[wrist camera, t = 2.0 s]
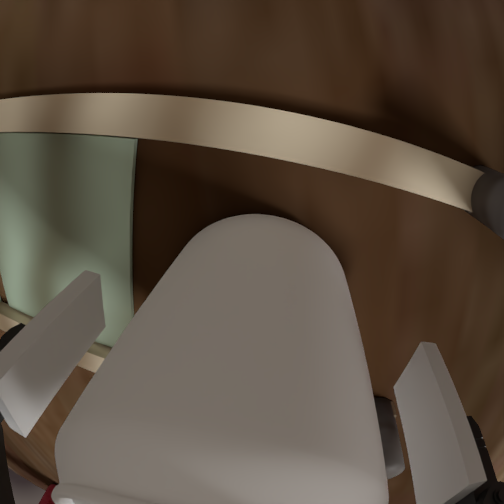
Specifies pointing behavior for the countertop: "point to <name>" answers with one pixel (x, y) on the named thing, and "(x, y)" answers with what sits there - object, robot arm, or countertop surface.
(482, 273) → the countertop surface
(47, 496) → the wine bottle
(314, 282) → the beverage can
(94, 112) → the bay
